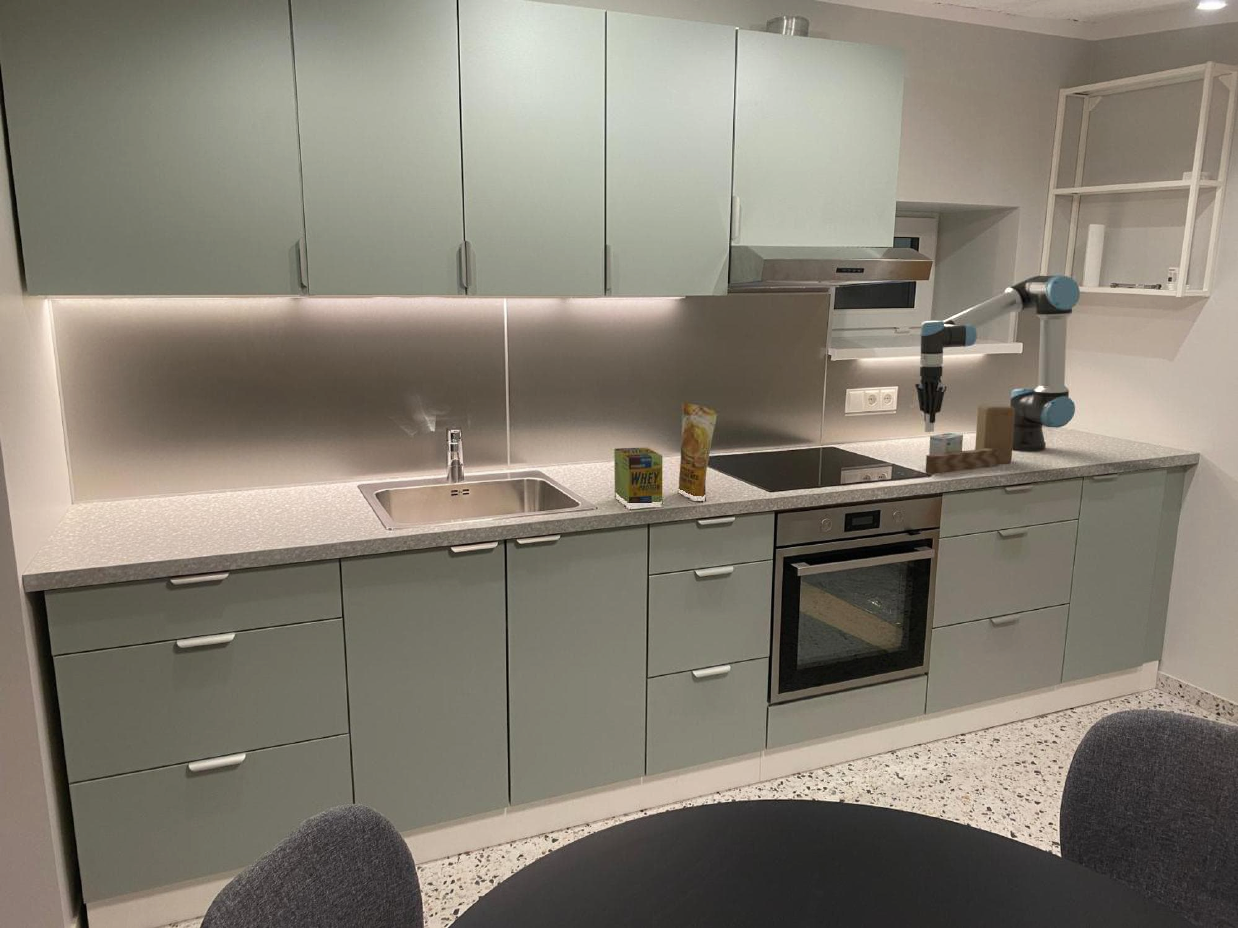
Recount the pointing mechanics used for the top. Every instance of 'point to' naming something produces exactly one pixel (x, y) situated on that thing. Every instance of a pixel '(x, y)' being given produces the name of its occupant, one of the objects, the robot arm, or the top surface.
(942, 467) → the walnut board
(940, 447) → the light bulb box
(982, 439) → the wooden block
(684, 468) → the pancake mix bag
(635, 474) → the protein box
